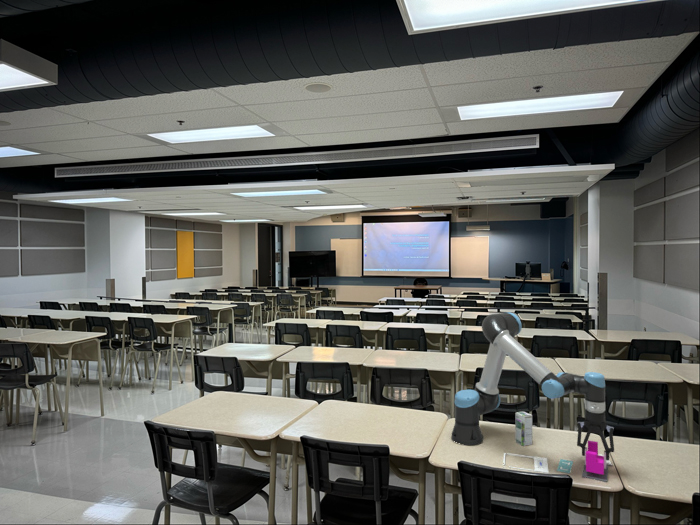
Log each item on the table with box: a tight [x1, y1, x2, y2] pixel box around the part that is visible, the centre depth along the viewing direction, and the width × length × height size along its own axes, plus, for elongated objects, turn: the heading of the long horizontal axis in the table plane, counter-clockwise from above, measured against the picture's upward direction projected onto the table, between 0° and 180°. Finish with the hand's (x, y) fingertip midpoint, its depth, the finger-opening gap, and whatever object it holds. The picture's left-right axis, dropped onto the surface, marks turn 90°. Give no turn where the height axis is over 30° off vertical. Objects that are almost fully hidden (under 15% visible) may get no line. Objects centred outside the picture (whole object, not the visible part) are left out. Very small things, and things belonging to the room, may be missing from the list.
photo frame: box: [502, 452, 549, 474], centre depth 202 cm, size 15×1×18 cm
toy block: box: [586, 439, 604, 475], centre depth 193 cm, size 15×6×8 cm, turn 150°
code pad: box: [556, 458, 574, 474], centre depth 198 cm, size 5×13×1 cm, turn 149°
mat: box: [581, 462, 610, 483], centre depth 193 cm, size 9×17×1 cm, turn 149°
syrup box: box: [514, 411, 533, 447], centre depth 223 cm, size 6×6×14 cm
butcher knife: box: [598, 453, 613, 466], centre depth 206 cm, size 5×15×1 cm, turn 164°
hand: (595, 465), depth 193 cm, fingers closed on toy block, 6 cm apart
